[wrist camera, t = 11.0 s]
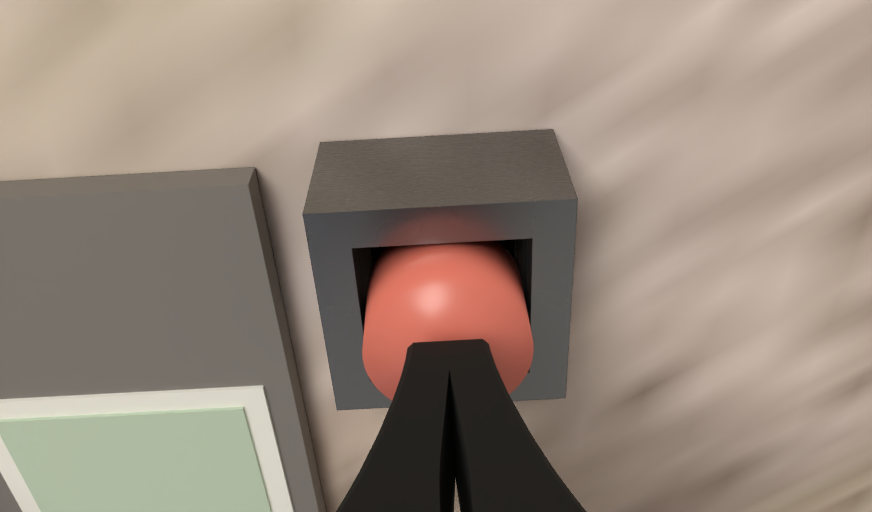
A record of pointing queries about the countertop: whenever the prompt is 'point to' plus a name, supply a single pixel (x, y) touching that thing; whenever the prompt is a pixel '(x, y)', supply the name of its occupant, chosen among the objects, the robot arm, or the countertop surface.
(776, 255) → the countertop surface
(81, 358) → the grey rectangular board
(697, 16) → the countertop surface
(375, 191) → the button base
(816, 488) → the countertop surface
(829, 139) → the countertop surface
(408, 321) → the button
